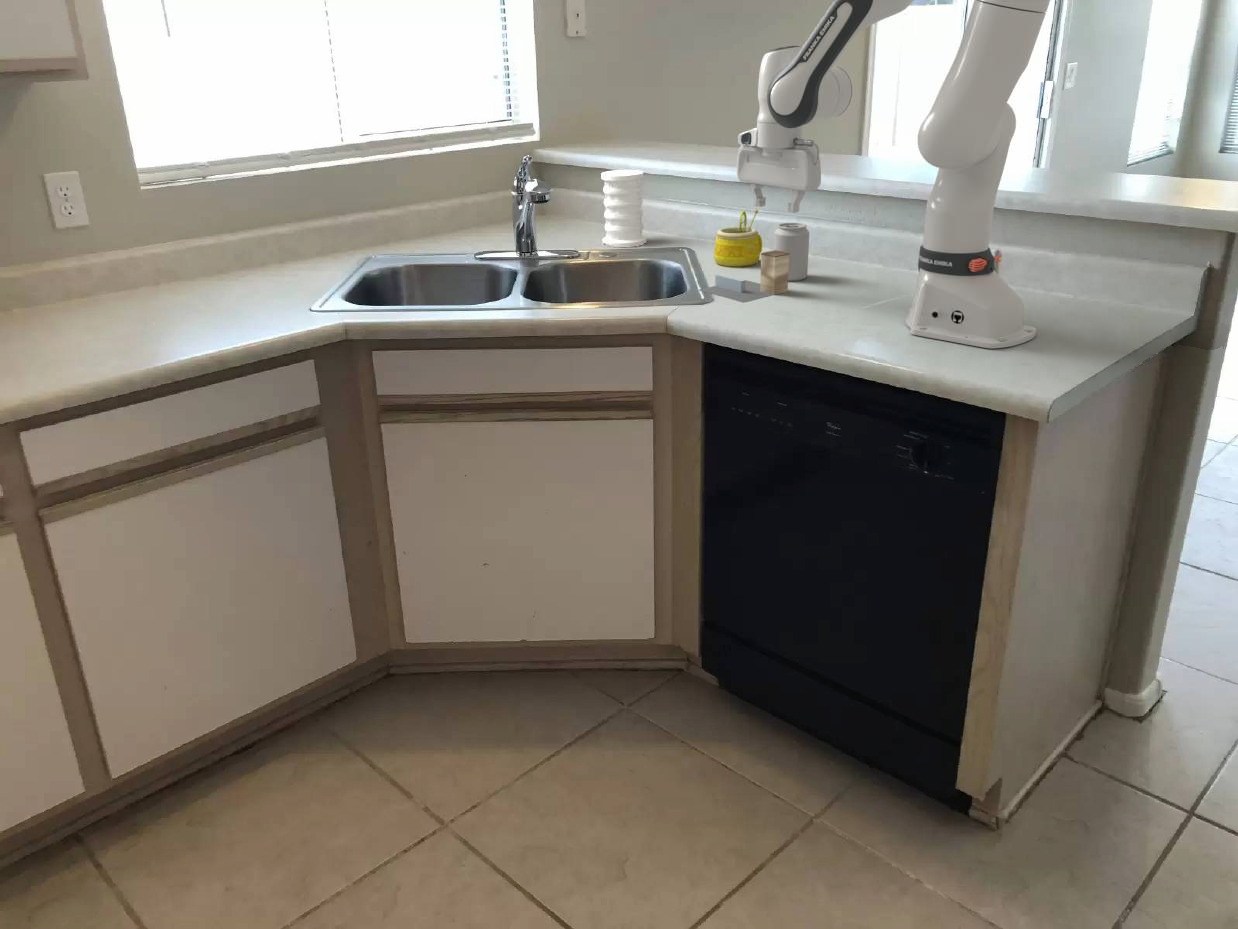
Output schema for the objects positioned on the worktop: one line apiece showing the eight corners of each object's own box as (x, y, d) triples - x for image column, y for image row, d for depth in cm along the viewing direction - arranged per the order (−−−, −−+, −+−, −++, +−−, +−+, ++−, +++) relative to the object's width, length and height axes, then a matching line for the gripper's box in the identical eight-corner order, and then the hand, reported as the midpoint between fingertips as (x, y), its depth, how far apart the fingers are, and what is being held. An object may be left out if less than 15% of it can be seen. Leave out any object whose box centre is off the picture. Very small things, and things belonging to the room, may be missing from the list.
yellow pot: (732, 271, 215) (733, 218, 210) (704, 263, 224) (704, 212, 219) (776, 263, 221) (777, 211, 216) (747, 256, 230) (748, 205, 225)
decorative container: (630, 237, 256) (628, 168, 248) (654, 243, 247) (653, 172, 240) (594, 242, 250) (591, 172, 243) (617, 249, 241) (615, 177, 234)
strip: (745, 291, 197) (745, 280, 196) (740, 292, 197) (741, 281, 196) (719, 284, 203) (719, 273, 202) (715, 285, 202) (715, 274, 201)
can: (805, 275, 210) (808, 220, 205) (808, 283, 203) (811, 227, 198) (771, 275, 211) (773, 221, 206) (773, 283, 204) (775, 227, 199)
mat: (789, 292, 197) (789, 290, 196) (743, 304, 190) (743, 302, 190) (742, 281, 207) (742, 279, 207) (698, 291, 200) (698, 289, 200)
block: (787, 291, 196) (789, 252, 193) (773, 294, 194) (775, 255, 191) (773, 287, 199) (775, 250, 196) (760, 291, 197) (761, 253, 194)
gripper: (830, 139, 178) (826, 213, 184) (755, 132, 193) (752, 201, 199) (807, 142, 174) (803, 217, 180) (732, 134, 190) (730, 204, 195)
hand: (776, 209), depth 190 cm, fingers open, 8 cm apart
